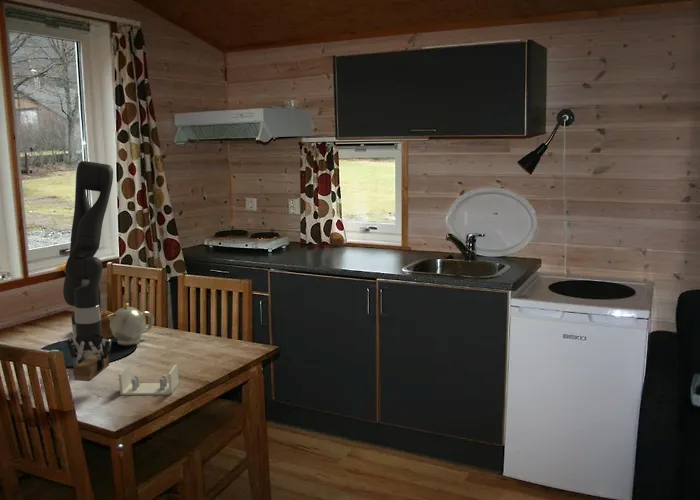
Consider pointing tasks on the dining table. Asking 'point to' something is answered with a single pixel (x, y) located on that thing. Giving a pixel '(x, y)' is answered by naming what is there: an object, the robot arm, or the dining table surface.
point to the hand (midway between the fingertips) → (91, 369)
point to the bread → (106, 324)
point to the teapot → (129, 325)
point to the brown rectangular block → (88, 368)
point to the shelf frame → (147, 384)
